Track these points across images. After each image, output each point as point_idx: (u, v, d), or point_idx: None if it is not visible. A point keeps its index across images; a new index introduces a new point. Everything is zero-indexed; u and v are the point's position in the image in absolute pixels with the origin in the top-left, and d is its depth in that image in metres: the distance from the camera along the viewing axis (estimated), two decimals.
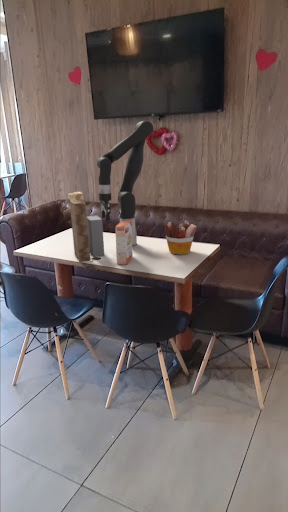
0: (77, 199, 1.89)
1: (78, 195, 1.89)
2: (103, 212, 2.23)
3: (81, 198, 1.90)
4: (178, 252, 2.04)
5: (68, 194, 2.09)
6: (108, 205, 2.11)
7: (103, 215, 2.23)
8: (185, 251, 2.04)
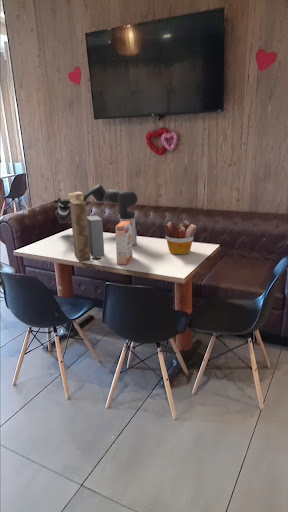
0: (77, 199, 1.89)
1: (78, 195, 1.89)
2: None
3: (81, 198, 1.90)
4: (178, 252, 2.04)
5: (68, 194, 2.09)
6: None
7: None
8: (185, 251, 2.04)
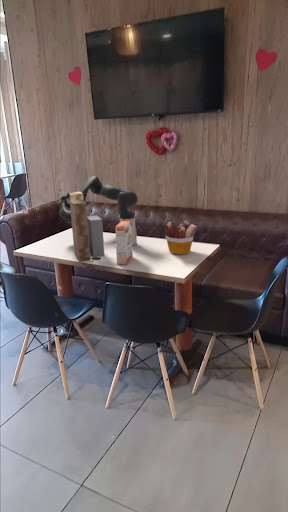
0: (77, 199, 1.89)
1: (78, 195, 1.89)
2: None
3: (81, 198, 1.90)
4: (178, 252, 2.04)
5: None
6: None
7: None
8: (185, 251, 2.04)
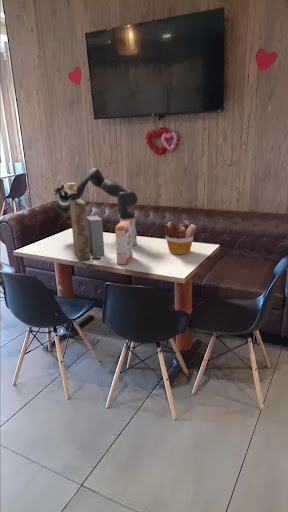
0: (70, 189, 1.94)
1: (71, 185, 1.94)
2: None
3: (74, 188, 1.95)
4: (178, 252, 2.04)
5: None
6: None
7: None
8: (185, 251, 2.04)
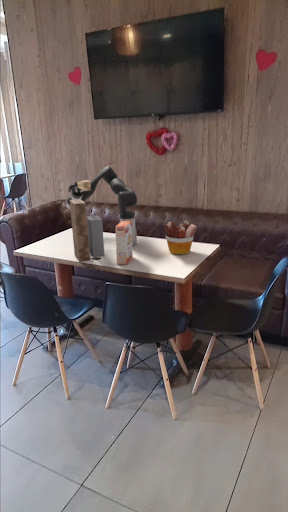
0: (85, 187, 2.08)
1: (86, 183, 2.07)
2: None
3: (88, 186, 2.08)
4: (178, 252, 2.04)
5: None
6: None
7: None
8: (185, 251, 2.04)
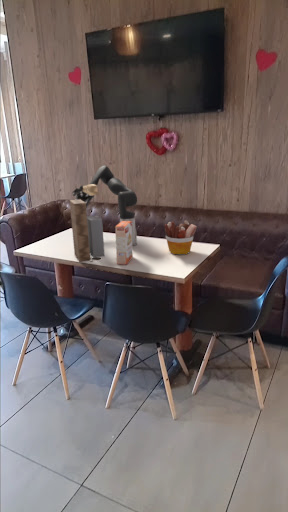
0: (91, 191, 1.94)
1: (92, 187, 1.94)
2: None
3: (95, 190, 1.95)
4: (178, 252, 2.04)
5: None
6: None
7: None
8: (185, 251, 2.04)
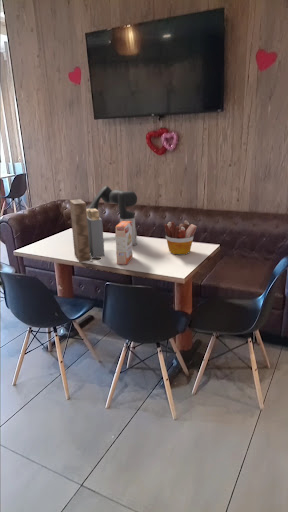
0: (93, 216, 1.98)
1: (94, 212, 1.98)
2: None
3: (97, 215, 1.99)
4: (178, 252, 2.04)
5: None
6: None
7: None
8: (185, 251, 2.04)
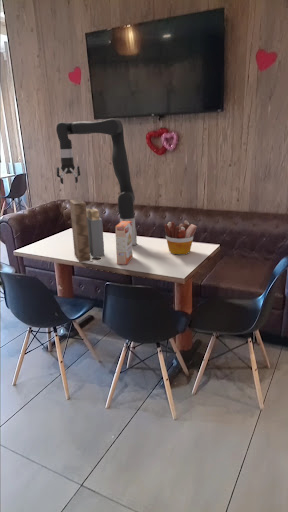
0: (93, 216, 1.98)
1: (94, 212, 1.98)
2: (62, 178, 2.25)
3: (97, 215, 1.99)
4: (178, 252, 2.04)
5: None
6: None
7: (62, 181, 2.26)
8: (185, 251, 2.04)
